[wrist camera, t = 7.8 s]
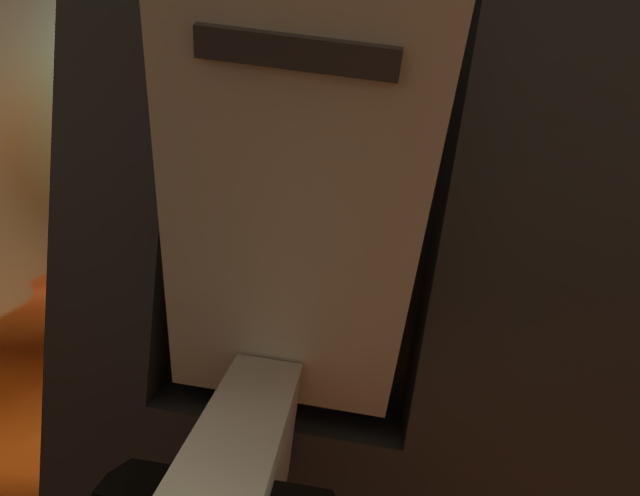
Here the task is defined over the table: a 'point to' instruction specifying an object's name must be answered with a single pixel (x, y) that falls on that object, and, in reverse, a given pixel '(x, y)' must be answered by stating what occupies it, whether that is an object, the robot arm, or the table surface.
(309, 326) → the rocker
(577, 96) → the switch panel
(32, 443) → the table surface
